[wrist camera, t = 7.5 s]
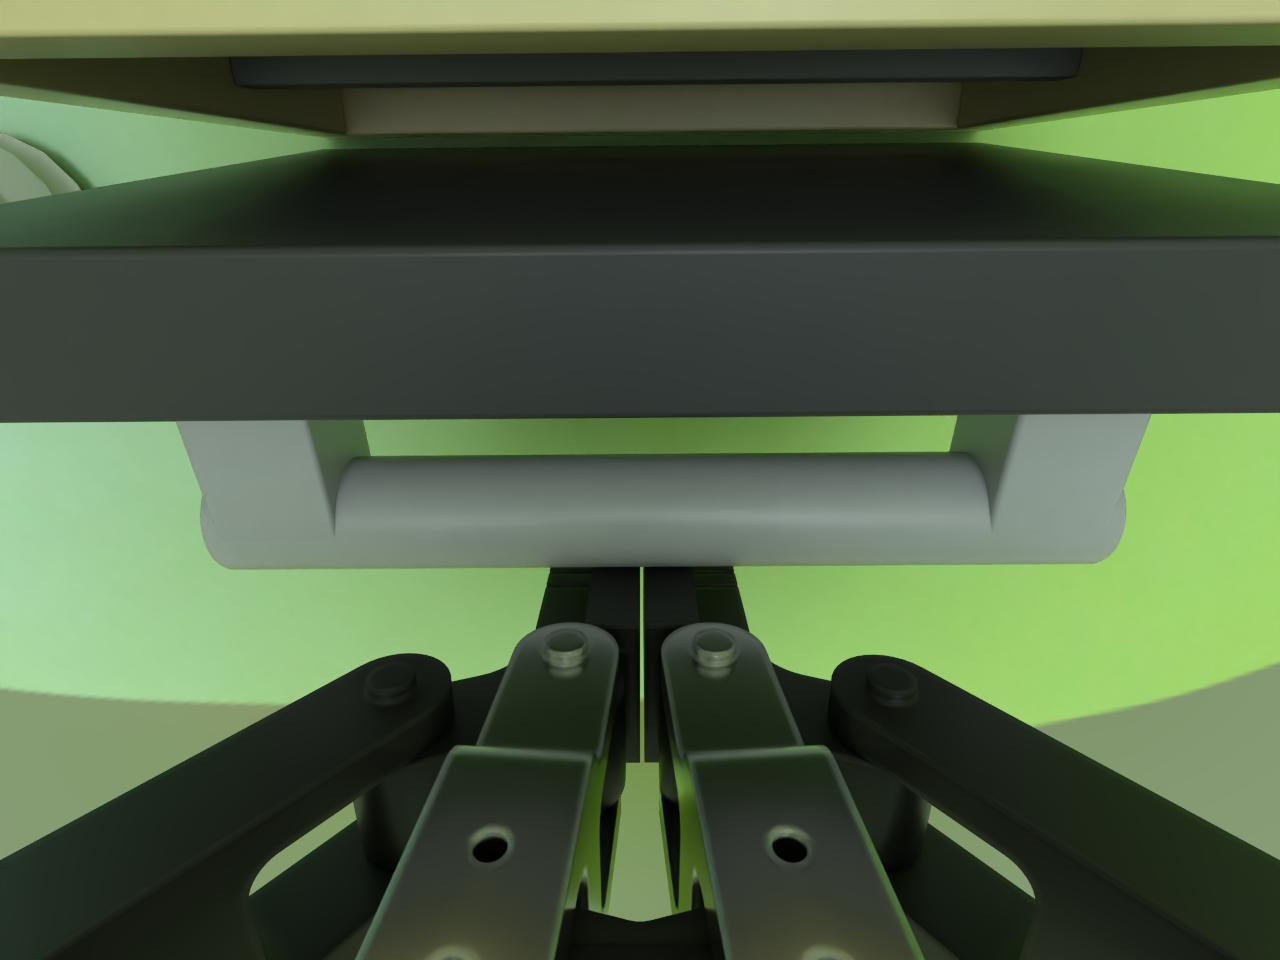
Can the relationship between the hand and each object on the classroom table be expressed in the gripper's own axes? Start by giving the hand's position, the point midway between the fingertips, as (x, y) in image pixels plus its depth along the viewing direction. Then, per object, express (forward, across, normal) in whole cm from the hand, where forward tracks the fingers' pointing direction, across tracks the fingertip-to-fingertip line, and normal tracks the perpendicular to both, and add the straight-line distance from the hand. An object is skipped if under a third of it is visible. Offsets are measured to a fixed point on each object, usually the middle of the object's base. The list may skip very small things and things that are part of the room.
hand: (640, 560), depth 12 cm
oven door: (+8, 0, -5) cm, 9 cm away
